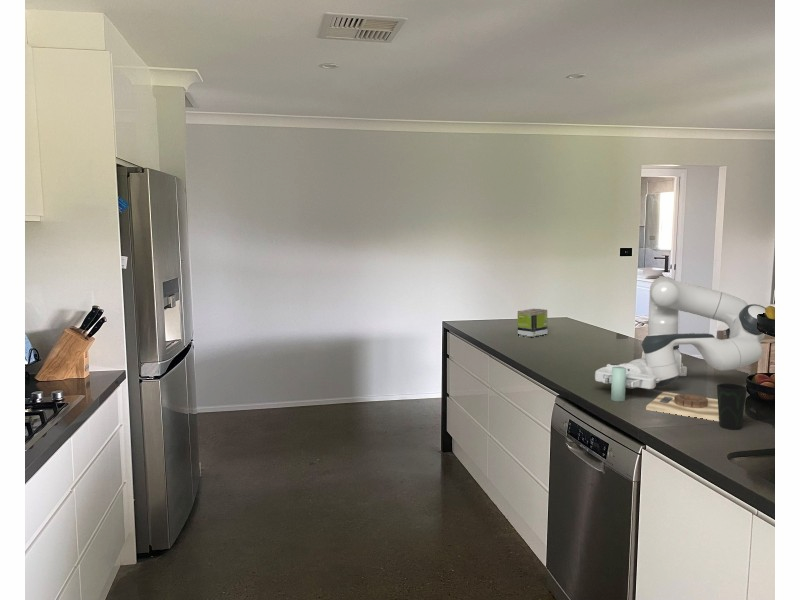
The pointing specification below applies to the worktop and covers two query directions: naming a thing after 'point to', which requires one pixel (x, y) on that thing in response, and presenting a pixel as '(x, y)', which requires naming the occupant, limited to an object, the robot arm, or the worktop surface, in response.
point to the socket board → (685, 405)
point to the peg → (618, 384)
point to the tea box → (532, 322)
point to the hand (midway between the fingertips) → (617, 383)
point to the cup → (731, 405)
